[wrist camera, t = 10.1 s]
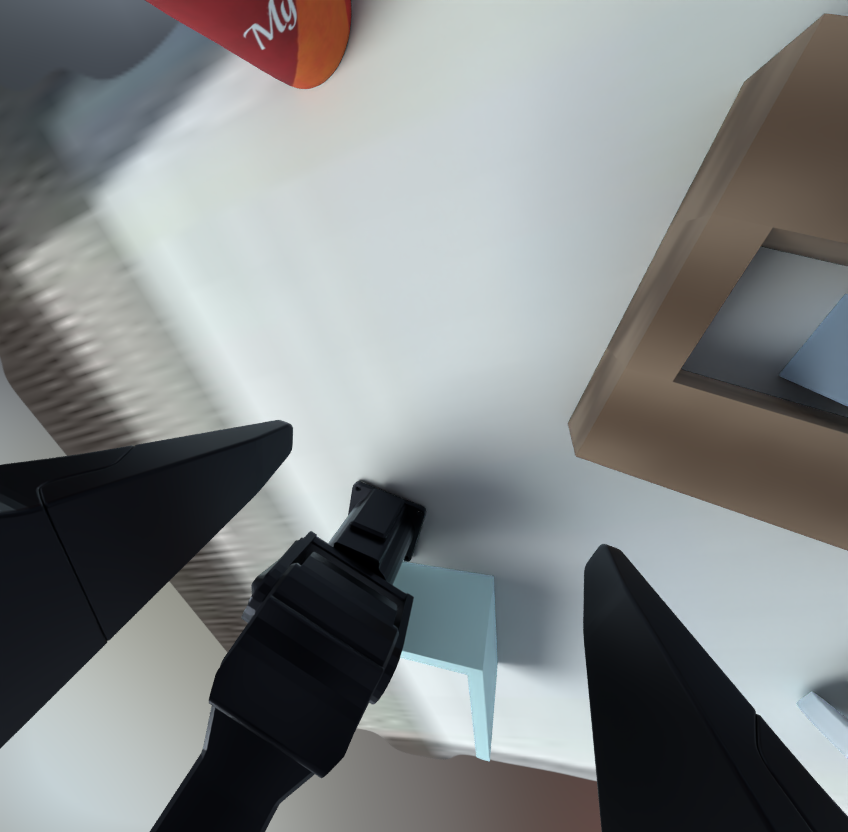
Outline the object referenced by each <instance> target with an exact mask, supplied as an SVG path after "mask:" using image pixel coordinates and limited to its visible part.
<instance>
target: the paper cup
mask: <svg viewBox="0 0 848 832" xmlns="http://www.w3.org/2000/svg"><path fill="white" fill-rule="evenodd" d="M146 1H147V2H149V3H150V4H152V5H154V6H155V7H157V8H158V9H160V10H161V11H163V12H165V13H166V14H168V15H169V16H171V17H172V18H174V19H176V20H178V21H179V22H181V23H183V24H185V25H186V26H188V27H190V28H191V29H193V30H195V31H197V32H198V33H200V34H202V35H204V36H205V37H207V38H209V39H211V40H212V41H214V42H216V43H217V44H219V45H221V46H222V47H224V48H226V49H227V50H229V51H231V52H232V53H234V54H236V55H237V56H239V57H241V58H242V59H244V60H246V61H247V62H249V63H250V64H252V65H254V66H255V67H257V68H259V69H260V70H262V71H264V72H266V73H267V74H269V75H271V76H273V77H274V78H276V79H278V80H280V81H282V82H284V83H285V84H287V85H290V86H292V87H295V88H299V89H310V88H314V87H316V86H319V85H320V84H322V83H323V82H325V81H326V80H327V79H328V78H329V77H330V76H331V75H332V74H333V73H334V71H335V70H336V68H337V67H338V65H339V63H340V61H341V59H342V57H343V55H344V52H345V49H346V46H347V43H348V38H349V33H350V26H351V0H146Z"/></svg>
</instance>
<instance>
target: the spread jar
mask: <svg viewBox="0 0 848 832" xmlns="http://www.w3.org/2000/svg"><path fill="white" fill-rule="evenodd" d="M796 704H797V706H798V707H799V709H800V710H801V711H802V712H803V713H804V715H805V716H806V717H807V718H808V719H809V720H810V721H811V722H812V723H813V724H814V725H815V726H816V728H817V729H818V730H819V731H820V732H821V733H822V734H823V735H824V736H825V737H826V738H827V739H828V740H829V741H830V742H831V743H832V744H833V745H834V746H835V747H836V748H837V749H838V750H839V751H840V752H841V753H842V754H843V755H844V756H845V757H846V758H847V759H848V719H847V718H846V717H845V716H844V715H842V714H841V713H840V712H839V711H838V710H836V709H835V708H834V707H833V706H831V705H830V704H829V703H828V702H826V701H825V700H824V699H822V698H821V697H820V696H818V695H817V694H816V693H814V692H812V691H811V692H810V693H808V694H807V695H806V696H804V697H803V698H802V699H800V700H799V701H797V702H796Z"/></svg>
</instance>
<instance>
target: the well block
mask: <svg viewBox="0 0 848 832" xmlns="http://www.w3.org/2000/svg"><path fill="white" fill-rule="evenodd" d="M760 246H761V247H766V248H770V249H775V250H779V251H783V252H788V253H792V254H797V255H801V256H805V257H810V258H814V259H818V260H823V261H827V262H832V263H836V264H840V265H845V266H848V16H841V15H833V14H824V15H822V16H821V17H820V18H819V19H818V20H817V21H815V22H814V23H813V24H812V25H811V26H810V27H808V28H807V29H806V30H805V31H804V32H803V33H801V34H800V35H799V36H798V37H797V38H795V39H794V40H793V41H792V42H791V43H790V44H788V45H787V46H786V47H785V48H784V49H783V50H781V51H780V52H779V53H778V54H777V55H775V56H774V57H773V58H772V59H771V60H770V61H768V62H767V63H766V64H765V65H764V66H763V67H761V68H760V69H759V70H758V71H757V72H755V73H754V74H753V75H752V76H751V77H750V78H748V79H747V80H746V81H745V82H744V83H743V85H742V87H741V89H740V91H739V93H738V95H737V97H736V99H735V101H734V103H733V105H732V107H731V109H730V111H729V113H728V114H727V116H726V118H725V120H724V122H723V124H722V126H721V128H720V130H719V132H718V134H717V136H716V138H715V140H714V142H713V143H712V145H711V147H710V149H709V151H708V153H707V155H706V157H705V159H704V161H703V163H702V165H701V167H700V169H699V171H698V173H697V174H696V176H695V178H694V180H693V182H692V184H691V186H690V188H689V190H688V192H687V194H686V196H685V198H684V200H683V202H682V204H681V205H680V207H679V209H678V211H677V213H676V215H675V217H674V219H673V221H672V223H671V225H670V227H669V229H668V231H667V233H666V234H665V236H664V238H663V240H662V242H661V244H660V246H659V248H658V250H657V252H656V254H655V256H654V258H653V260H652V262H651V264H650V265H649V267H648V269H647V271H646V273H645V275H644V277H643V279H642V281H641V283H640V285H639V287H638V289H637V291H636V293H635V294H634V296H633V298H632V300H631V302H630V304H629V306H628V308H627V310H626V312H625V314H624V316H623V318H622V320H621V322H620V324H619V325H618V327H617V329H616V331H615V333H614V335H613V337H612V339H611V341H610V343H609V345H608V347H607V349H606V351H605V353H604V355H603V356H602V358H601V360H600V362H599V364H598V366H597V368H596V370H595V372H594V374H593V376H592V378H591V380H590V382H589V384H588V385H587V387H586V389H585V391H584V393H583V395H582V397H581V399H580V401H579V403H578V405H577V407H576V409H575V411H574V413H573V415H572V416H571V418H570V420H569V422H568V426H569V430H570V435H571V439H572V443H573V447H574V451H575V455H576V457H579V458H582V459H585V460H588V461H591V462H593V463H596V464H599V465H602V466H605V467H608V468H611V469H614V470H617V471H619V472H622V473H625V474H628V475H631V476H634V477H637V478H640V479H643V480H645V481H648V482H651V483H654V484H657V485H660V486H663V487H666V488H669V489H671V490H674V491H677V492H680V493H683V494H686V495H689V496H692V497H695V498H697V499H700V500H703V501H706V502H709V503H712V504H715V505H718V506H721V507H723V508H726V509H729V510H732V511H735V512H738V513H741V514H744V515H747V516H749V517H752V518H755V519H758V520H761V521H764V522H767V523H770V524H773V525H775V526H778V527H781V528H784V529H787V530H790V531H793V532H796V533H799V534H801V535H804V536H807V537H810V538H813V539H816V540H819V541H822V542H825V543H827V544H830V545H833V546H836V547H839V548H842V549H845V550H848V418H846V417H843V416H839V415H836V414H832V413H829V412H826V411H822V410H819V409H815V408H812V407H808V406H805V405H802V404H798V403H795V402H791V401H788V400H784V399H781V398H777V397H774V396H771V395H767V394H764V393H760V392H757V391H753V390H750V389H747V388H743V387H740V386H736V385H733V384H729V383H726V382H723V381H719V380H716V379H712V378H709V377H705V376H702V375H698V374H695V373H692V372H688V371H685V370H681V368H682V366H683V365H684V363H685V362H686V360H687V359H688V357H689V355H690V354H691V352H692V351H693V349H694V348H695V346H696V345H697V343H698V342H699V340H700V339H701V337H702V336H703V334H704V332H705V331H706V329H707V328H708V326H709V325H710V323H711V322H712V320H713V319H714V317H715V316H716V314H717V312H718V311H719V309H720V308H721V306H722V305H723V303H724V302H725V300H726V299H727V297H728V296H729V294H730V293H731V291H732V289H733V288H734V286H735V285H736V283H737V282H738V280H739V279H740V277H741V276H742V274H743V273H744V271H745V270H746V268H747V266H748V265H749V263H750V262H751V260H752V259H753V257H754V256H755V254H756V253H757V251H758V250H759V248H760Z"/></svg>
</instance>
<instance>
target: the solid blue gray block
mask: <svg viewBox="0 0 848 832" xmlns="http://www.w3.org/2000/svg"><path fill="white" fill-rule="evenodd" d="M778 376H781V377H783V378H785V379H787V380H789V381H792V382H794V383H796V384H798V385H801V386H803V387H805V388H807V389H810V390H812V391H814V392H816V393H819V394H821V395H823V396H825V397H828V398H830V399H832V400H834V401H836V402H839V403H841V404H843V405H845V406H848V294H845V295H844V296H843V297H842V299H841V300H840V301H839V302H838V303H837V305H836V306H835V307H834V308H833V309H832V311H831V312H830V313H829V314H828V316H827V317H826V318H825V319H824V320H823V322H822V323H821V324H820V325H819V326H818V328H817V329H816V330H815V331H814V333H813V334H812V335H811V336H810V337H809V339H808V340H807V341H806V342H805V343H804V345H803V346H802V347H801V348H800V350H799V351H798V352H797V353H796V354H795V356H794V357H793V358H792V359H791V360H790V362H789V363H788V364H787V365H786V367H785V368H784V369H783V370H782V371H781V373H780V374H779V375H778Z"/></svg>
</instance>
